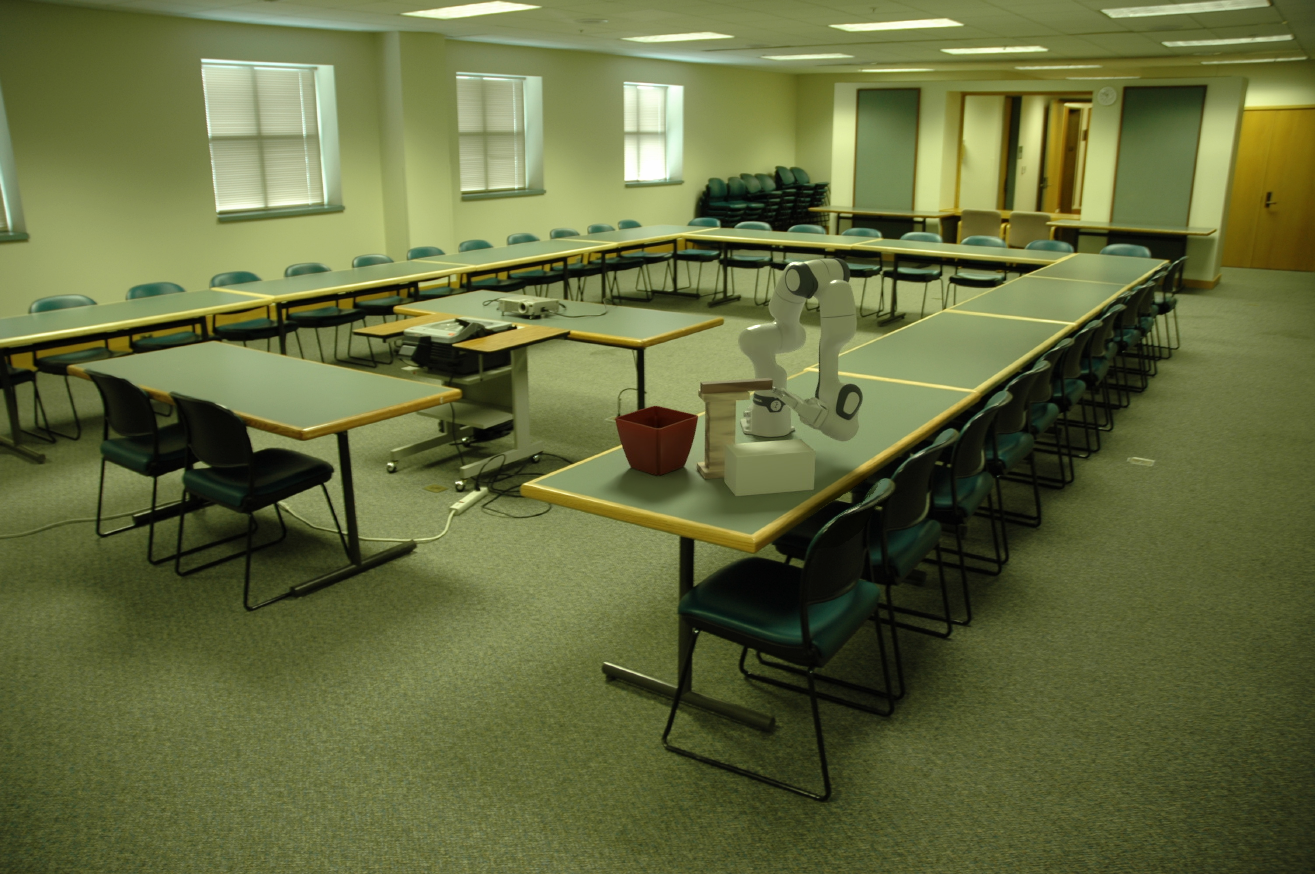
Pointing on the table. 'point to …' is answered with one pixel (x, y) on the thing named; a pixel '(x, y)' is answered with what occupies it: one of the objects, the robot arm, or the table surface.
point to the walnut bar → (736, 385)
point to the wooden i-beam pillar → (718, 430)
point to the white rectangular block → (769, 467)
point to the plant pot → (657, 438)
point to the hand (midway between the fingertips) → (776, 392)
